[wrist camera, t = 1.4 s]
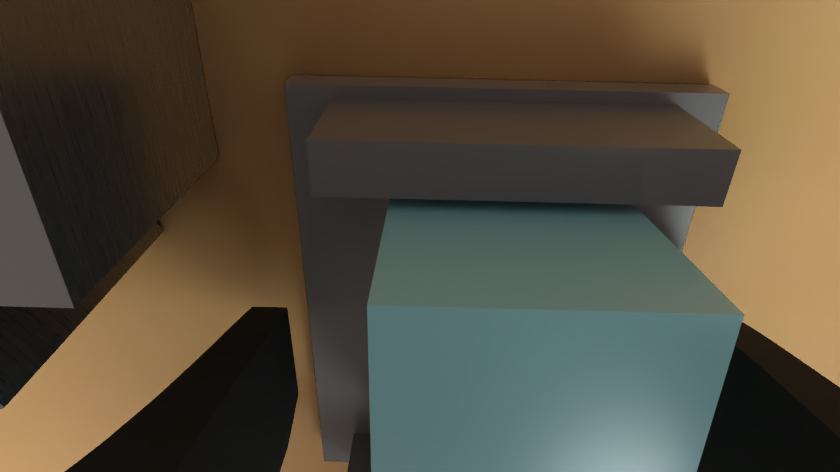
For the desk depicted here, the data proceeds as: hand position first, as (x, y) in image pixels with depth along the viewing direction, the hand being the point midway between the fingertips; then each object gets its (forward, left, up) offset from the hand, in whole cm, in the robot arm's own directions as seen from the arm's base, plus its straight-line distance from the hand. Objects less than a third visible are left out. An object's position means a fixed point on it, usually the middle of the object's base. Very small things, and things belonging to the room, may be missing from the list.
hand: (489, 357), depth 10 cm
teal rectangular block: (0, 0, -1) cm, 1 cm away
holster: (0, 0, -2) cm, 2 cm away
